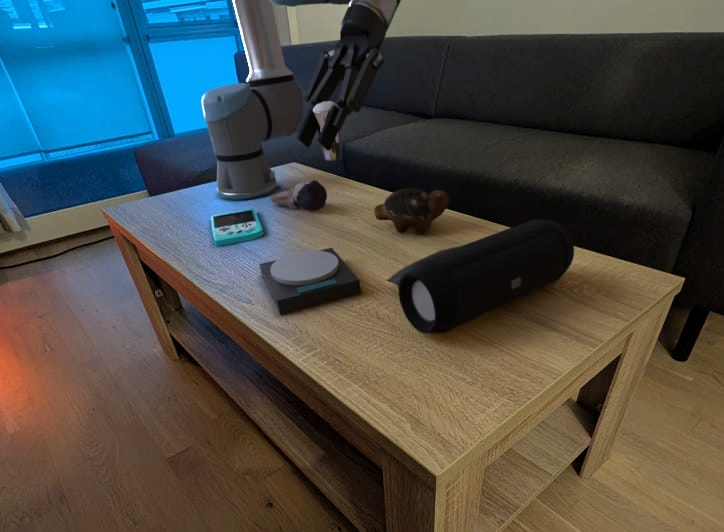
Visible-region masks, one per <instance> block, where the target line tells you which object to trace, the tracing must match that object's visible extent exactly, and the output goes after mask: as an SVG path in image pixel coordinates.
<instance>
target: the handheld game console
mask: <svg viewBox="0 0 724 532" xmlns="http://www.w3.org/2000/svg"><path fill="white" fill-rule="evenodd" d="M210 220H211V229H212V235H213V236H212V237H213V238H212V240H213V242H214V244H215V247H221V246H226V245H232V244H237V243H242V242H248V241H251V240H255V239H259V238H261V237H263V236H264V230H263V226H262V224H261V221H260V219H259V216H258V214H257V211H256V209H255V208H250V209H249V208H247V209H243V210H237V211H231V212H225V213H224V212H223V213H219V214H216V215H215V214H213V215H211V216H210Z"/></svg>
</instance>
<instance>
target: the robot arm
mask: <svg viewBox="0 0 724 532" xmlns="http://www.w3.org/2000/svg"><path fill="white" fill-rule="evenodd" d="M401 2H402V0H232V3H233V4H232V5H233V8H234V12H235V16H236V20H237V23H238V27H239V32H240V35H241V40H242V43H243V47H244V51H245V55H246V60H247V63H248V67H249V74H248V76H247V77H246V79H245V81H246V83H244V82H239V83H238V82H237V83H231V84H228V85H222V86H218V87H215V88H213V89H211V90H209V91H207V92H205V93H204V94H203V95H202V96H201V97H202V98H201V107H202V113H203V119H204V121H205V123H206V127H207V130H208V134H209V138H210V141H211V145H212V148H213V149H212V150H213V152H214V156H215V159H216V164H217V165H216V166H217V168H216V190H217V195H218V196H219V198H221V199H224V200H230V201H243V200H252V199H257V198H261V197H265V196H267V195H270V194H272V193H274V192H275V191H277V189H278V181H277V178H276V173H275V170H272V169H271V167H270V164H269V163H268V161H267V159H266V157H265V155H264V149H263V143H262V142H267V141H272V140H275V139H278V138H282V137H290V136H292V135H293V134H296V133H298V134H297V136H296V139H297V140H298V141H299V142H300V143H301V144H302V145H303V146H304V147H306V148H309V149H310V147H311V145H312V142H313V140H314V138H315V136H316V134H317V132H318V129H317V125H316V121H315V117H314V113H313V110H312V109H313V108H314V107H315V106H316V105H317V104H319V103H322V102H324V101H325V102H327V101H330V98H331V97H332V96H333V94H334V93H335V91H336V89H337V87H338V86H339V84H340V83H341V81H342V85H341V88H340V92H339V95H338V96H339V97H338V98H337V99H335V100H334V102H335V103H336V104H337V105H338V107H337V106H335V105H333V106H332V108H331V110H330V113H329V115H328V117H327V120H326V122H325V124H324V126H323V129H322V131H321V133H320V135H319V134H318V138H317V142H318V143H319V145H320V146H321V145H322V146H323V147H324V148H325V149H326V150H328V151H330V149H331V147H332V145H333V142H334V140H335V138H336V136H337V133H338V131H340V132H341V130H342V128H343V126H344V124H345V122H346V120H347V117H348V116H350V115H351V114H352V112H355V114H356V113H357V114H358V113H359V112H360V110H361V109H362V106H363V104H364V102H365V100H366V97H367V96H368V94H369V91H370V89H371V86H372V84H373V82H374V80H375V77H376V76H377V73H378V72H379V70H381V68H382V66H383V65H384V64H385V59H384V57H383V56H382V54H381V52H380V49H381V46H382V45H383V42H384V40H385V38H386V35H387V32H388V31H389V28H390V26H391V24H392V21H393V19H394V16H395V14H396V12H397V10H398V7H399V6H400V3H401ZM273 4H274V5H277V6H287V7H289V8H291V7H292V8H295V7H298V6H307V5H326V4H327V5H329V4H330V5H331V4H332V5H337V6H339V5H340V6H342V5H348V7H347V9H346V11H345V14H344V15H343V18H342V20H341V22H340V25H339V35H340V37H339V40H338V42H337V43H336V44H335V45H334V48H333V49H332V50H330V51H328V50H327V49H326V48H323V49H322V50H321V51H320V54H319V61H318V63H317V65H316V68H315V70H314V72H313V75H312V77H311V80H310V81H309V83H308V86H307V89H306V90H305V89H304V88H303V86H302V85H301V84H300V83H299V82H297V81H296V80H295V77H294V73H293V72H292V71H291V70H290V69H289V68H288V67H287V66H286V65H285V59H284V54H283V50H282V45H281V41H280V36H279V31H278V27H277V22H276V21H277V20H276V17H275V11H274V8H273ZM306 98H307V99H306ZM307 100H308V101H307ZM308 102H309V103H308ZM309 104H310V105H311V106H310V105H309ZM311 107H312V108H311Z"/></svg>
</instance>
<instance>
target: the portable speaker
mask: <svg viewBox="0 0 724 532" xmlns="http://www.w3.org/2000/svg"><path fill="white" fill-rule="evenodd" d="M456 247H457V248H454V247H453V248H454V249H452V250H449V251H446V252H443V253H441V254H438V255H435V256H432V257H430V258H427V259H424V260H422V261H419V262H417V263H416V264H415V265H414V266H413V267H412V268H410V269H409V270H408V271H407V272H406V273H405V274H404V275H403V276H402V278H401V280H400V283H399V286H398V299H399V304H400V306H401V309H402V312H403V314H404V316H405V317H406V319H407V321H408V323H410V325H411V326H412V327H413V328H414V329H415V330H417V331H418V332H419V333H422V334H426V335H427V334H429V335H430V334H446V333H449V332H450V331H452V330H454V329H456V328H458V327H460V326H463V325H465V324H467V323H469V322H471V321H474V320H475V319H478V318H481V317H482V316H484V315H486V314H489V313H491V312H493V311H496V310H497V309H500V308H502V307H504V306H506V305H508V304H511V303H514V302H515V301H517V300H519V299H522V298H524V297H526V296H528V295H530V294H532V293H535V292H536V291H539V290H540V289H543V288H546V287H548V286H550V285H552V284H555V283H557V282H558V281H559V280H560V279H561V278H562V277H563V276H564V275H565V274H566V272H567V271H568V269H569V268H570V266H571V265H572V263H573V260H574V258H575V257H574V256H575V245H574V241H573V238H572V235H571V234H570V233H569V231H568V230H567V229H566V228H565V226H563V225H562V224H560V223H559V222H556V221H551V220H547V219H541V218H538V219H532V220H529V221H526V222H523V223H520V224H517V225H515V226H512V227H509V228H507V229H504V230H501V231H498V232H496V233H493V234H489V235H488V236H485V237H482V238H479V239H476V240H473V241H470V242H469V243H466V244H463V245H460V246H456Z"/></svg>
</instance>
